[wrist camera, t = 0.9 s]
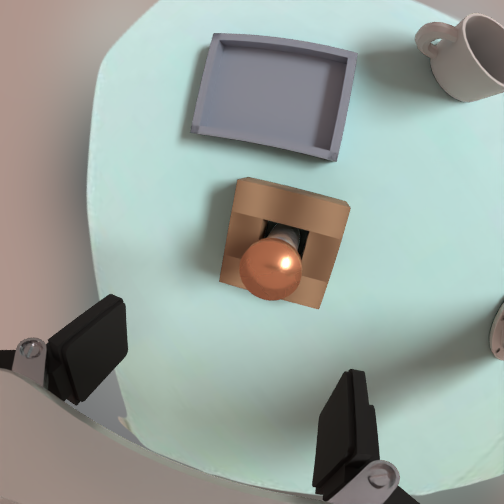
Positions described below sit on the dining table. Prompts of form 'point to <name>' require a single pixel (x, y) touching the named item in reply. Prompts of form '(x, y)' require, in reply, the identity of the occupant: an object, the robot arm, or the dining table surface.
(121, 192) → the dining table surface
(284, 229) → the pin
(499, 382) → the dining table surface
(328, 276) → the hitch block
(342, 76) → the tray
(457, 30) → the cup
